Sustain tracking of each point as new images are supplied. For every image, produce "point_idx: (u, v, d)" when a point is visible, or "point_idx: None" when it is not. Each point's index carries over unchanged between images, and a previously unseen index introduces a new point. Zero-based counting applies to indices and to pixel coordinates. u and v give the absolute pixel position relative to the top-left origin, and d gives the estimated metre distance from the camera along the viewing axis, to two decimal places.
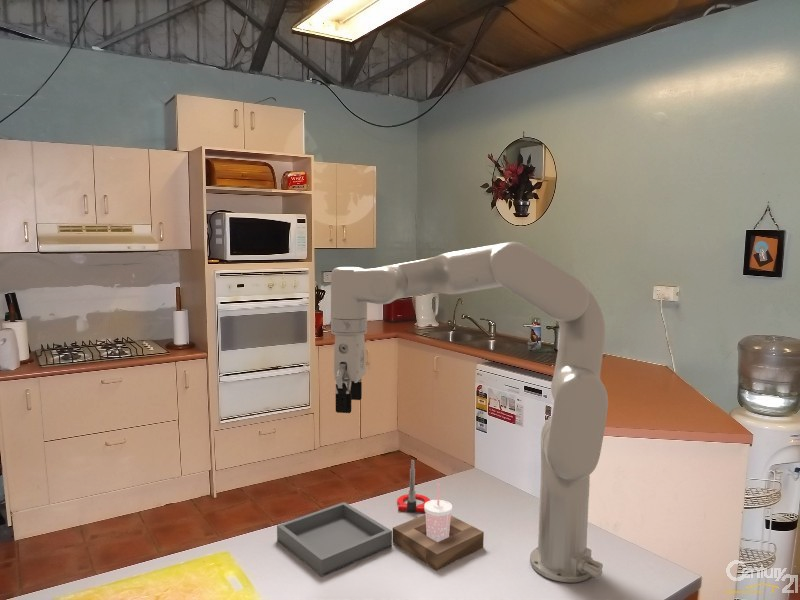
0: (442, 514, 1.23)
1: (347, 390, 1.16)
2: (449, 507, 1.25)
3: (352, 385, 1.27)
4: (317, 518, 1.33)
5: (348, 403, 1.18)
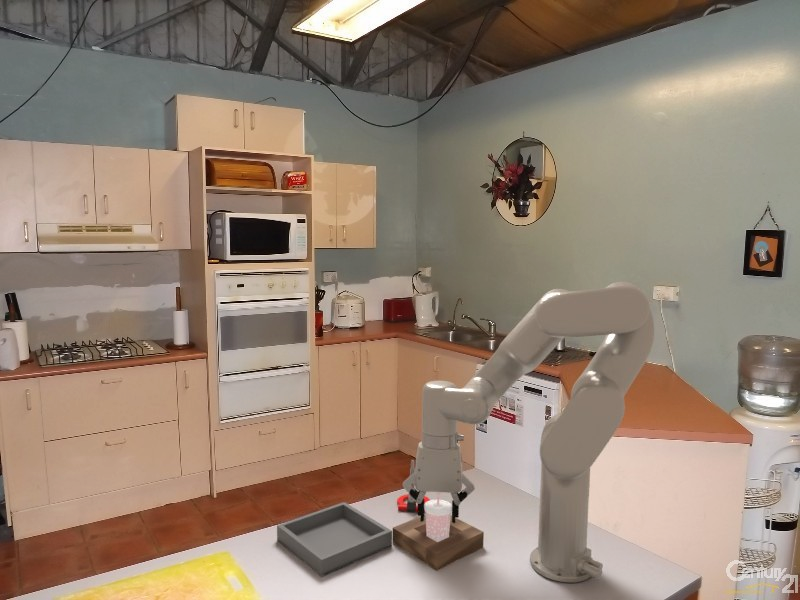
0: (442, 514, 1.23)
1: None
2: (449, 507, 1.25)
3: None
4: (317, 518, 1.33)
5: None
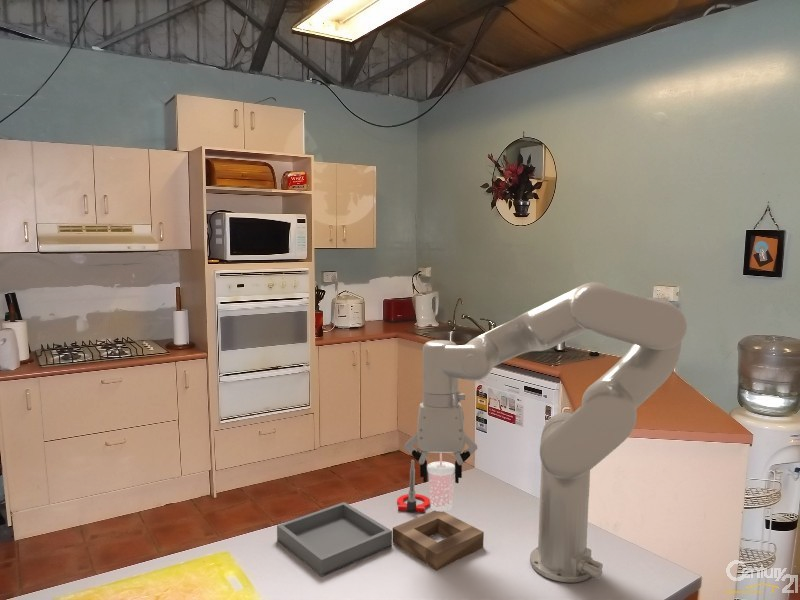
0: (445, 474, 1.22)
1: None
2: (452, 467, 1.24)
3: None
4: (317, 518, 1.33)
5: None
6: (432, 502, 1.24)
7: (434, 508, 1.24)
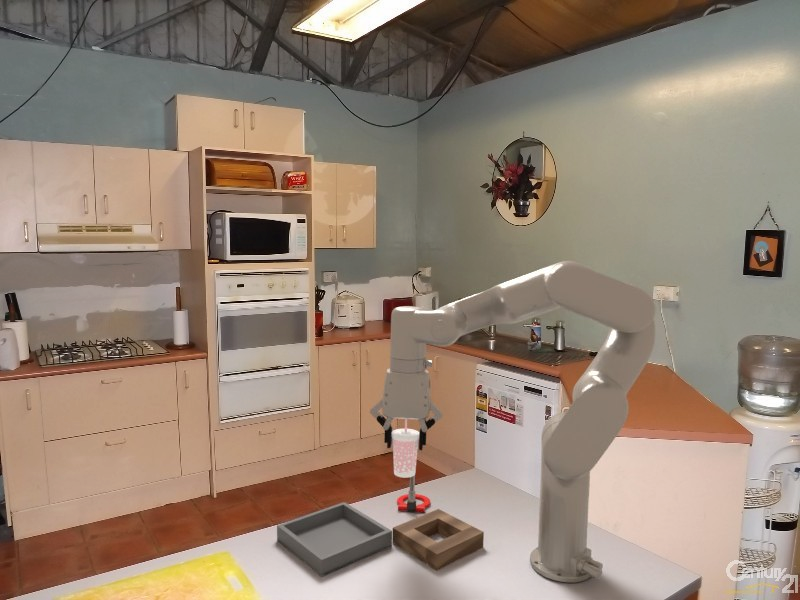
0: (408, 440, 1.21)
1: None
2: (416, 434, 1.24)
3: (391, 432, 1.24)
4: (317, 518, 1.33)
5: None
6: (395, 468, 1.24)
7: (397, 474, 1.23)
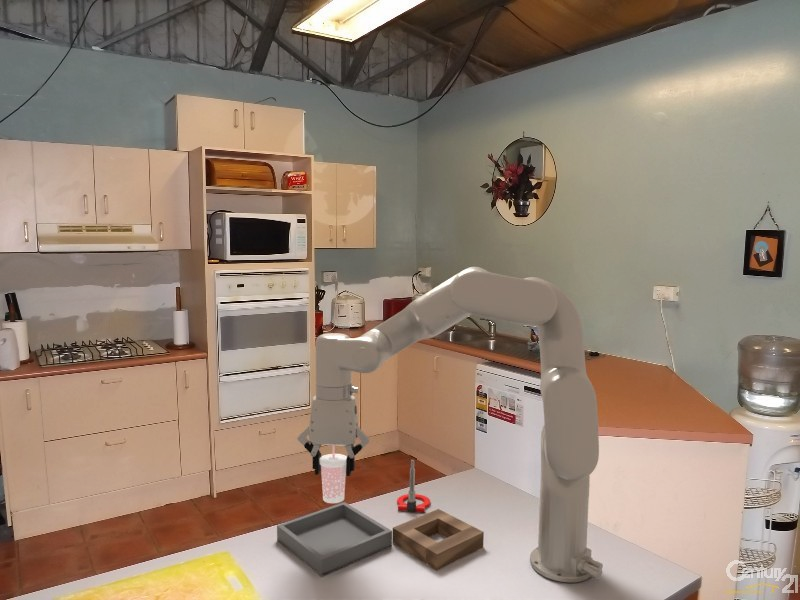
0: (335, 466, 1.22)
1: None
2: (344, 460, 1.24)
3: (319, 458, 1.25)
4: (317, 518, 1.33)
5: None
6: (323, 494, 1.24)
7: (325, 500, 1.24)
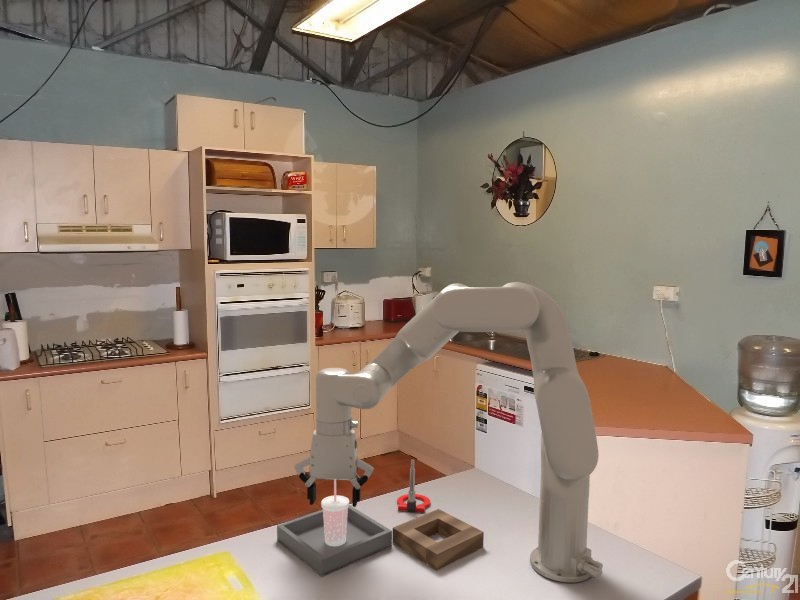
0: (337, 510, 1.23)
1: None
2: (346, 503, 1.25)
3: (314, 488, 1.26)
4: (317, 518, 1.33)
5: None
6: (325, 536, 1.25)
7: (327, 542, 1.25)
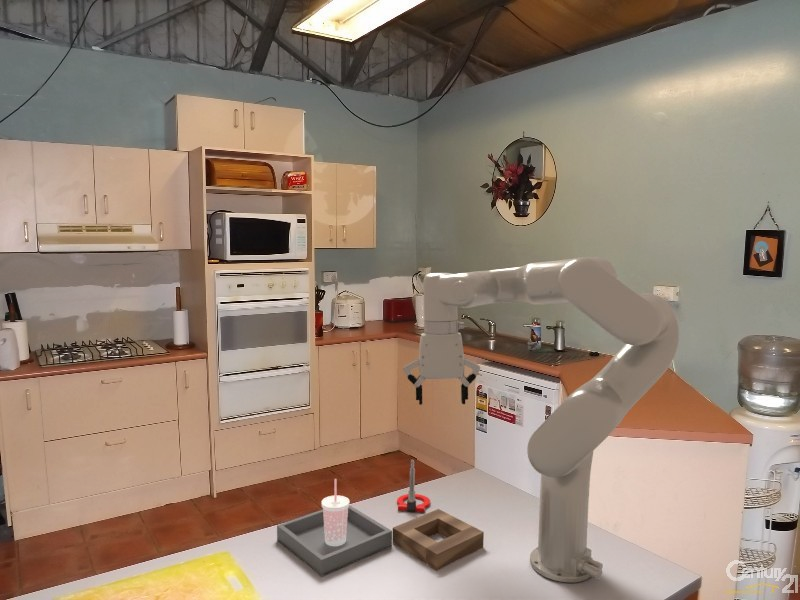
0: (337, 510, 1.23)
1: None
2: (346, 503, 1.25)
3: None
4: (317, 518, 1.33)
5: None
6: (325, 536, 1.25)
7: (327, 542, 1.25)
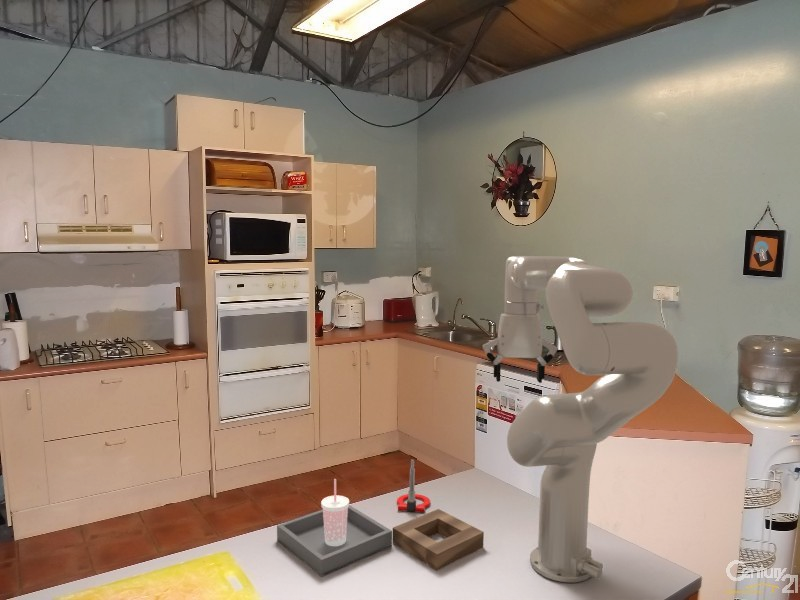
0: (337, 510, 1.23)
1: None
2: (346, 503, 1.25)
3: None
4: (317, 518, 1.33)
5: None
6: (325, 536, 1.25)
7: (327, 542, 1.25)
